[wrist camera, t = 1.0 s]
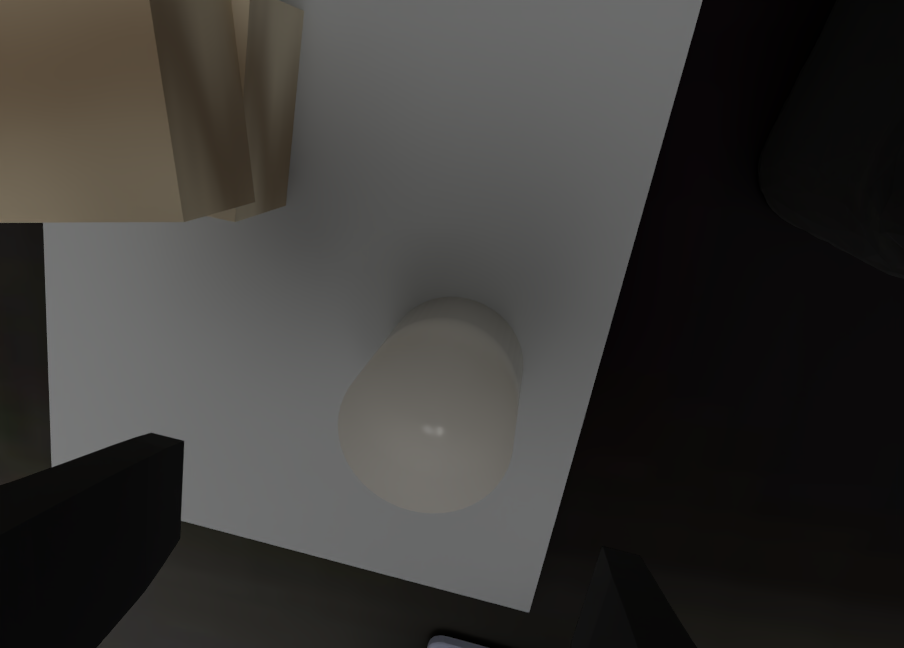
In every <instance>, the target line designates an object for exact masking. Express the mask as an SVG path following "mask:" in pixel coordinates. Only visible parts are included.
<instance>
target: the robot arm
mask: <svg viewBox="0 0 904 648" xmlns="http://www.w3.org/2000/svg"><path fill="white" fill-rule="evenodd" d="M183 461H184V441H183V440H179V439H175V438H171V437H167V436H163V435H159V434H155V433H148V434H145V435H141V436H138V437H135V438H132V439H129V440H126V441H123V442H120V443H117V444H114V445H112V446H109V447H106V448H103V449H101V450H98V451H95V452H92V453H90V454H87V455H84V456H82V457H79V458H76V459H73V460H71V461H68V462H65V463H62V464H60V465H57V466H54V467H51V468H49V469H46V470H43V471H40V472H38V473H35V474H32V475H29V476H27V477H24V478H21V479H18V480H15V481H12V482H9V483H6V484H3V485H0V648H96V647H97V646H98V645H99V644H100V643H101V642H102V641H103V639H104V638H105V637H106V636H107V635H108V634H109V633H110V631H111V630H112V629H113V628H114V627H115V626H116V624H117V623H118V622H119V621H120V620H121V619H122V617H123V616H124V615H125V614H126V613H127V612H128V610H129V609H130V608H131V607H132V606H133V605H134V603H135V602H136V601H137V600H138V599H139V597H140V596H141V595H142V594H143V593H144V592H145V590H146V589H147V587H148V586H149V585H150V583H151V582H152V580H153V579H154V577H155V576H156V574H157V573H158V572H159V570H160V569H161V567H162V566H163V564H164V563H165V561H166V560H167V558H168V556H169V555H170V553H171V552H172V550H173V549H174V547H175V546H176V544H177V543H178V541H179V539H180V530H181V507H182V484H183ZM427 648H488V647H485V646H481V645H477V644H473V643H470V642H466V641H462V640H459V639H455V638H451V637H448V636H443V635H438V636H434V637H432V638H431V639H430V641H429V643H428V646H427ZM571 648H697V647H696V646H695V644H694V643H693V641H692V639H691V638H690V636H689V635H688V633H687V632H686V630H685V628H684V627H683V625H682V624H681V622H680V620H679V619H678V617H677V616H676V614H675V612H674V611H673V609H672V607H671V606H670V604H669V603H668V601H667V599H666V598H665V596H664V594H663V593H662V591H661V589H660V588H659V586H658V584H657V583H656V581H655V579H654V578H653V576H652V575H651V573H650V571H649V570H648V568H647V566H646V565H645V563H644V561H643V560H642V558H641V557H640V555H636V554H632V553H628V552H624V551H620V550H616V549H612V548H608V547H604V546H602V548H601V551H600V554H599V557H598V560H597V563H596V566H595V570H594V573H593V576H592V579H591V582H590V585H589V588H588V592H587V595H586V598H585V601H584V604H583V607H582V610H581V613H580V617H579V620H578V623H577V626H576V629H575V632H574V635H573V639H572V642H571Z"/></svg>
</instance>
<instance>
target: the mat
mask: <svg viewBox="0 0 904 648" xmlns="http://www.w3.org/2000/svg"><path fill="white" fill-rule="evenodd" d="M280 1H282V2H284V3H287V4H289V5H291V6H294V7H296V8H299V9H301V10H303V11H304V17H303V28H302V39H301V49H300V60H299V71H298V81H297V92H296V103H295V113H294V124H293V135H292V145H291V156H290V167H289V178H288V188H287V199H286V206H283V207H280V208H277V209H274V210H271V211H268V212H265V213H262V214H259V215H256V216H252V217H249V218H246V219H243V220H240V221H237V222H231V221H227V220H222V219H218V218H213V217H208V216H204V217H200V218H197V219H193V220H190V221H186V222H67V223H43V230H44V259H45V287H46V316H47V345H48V373H49V402H50V431H51V459H52V467H54V466H57V465H60V464H62V463H65V462H68V461H71V460H73V459H76V458H79V457H82V456H84V455H87V454H90V453H92V452H95V451H98V450H101V449H103V448H106V447H109V446H112V445H114V444H117V443H120V442H123V441H126V440H129V439H132V438H135V437H138V436H141V435H145V434H148V433H155V434H159V435H163V436H167V437H171V438H175V439H179V440H183V441H184V461H183V484H182V507H181V521H185V522H188V523H192V524H196V525H200V526H204V527H207V528H211V529H215V530H219V531H222V532H226V533H230V534H234V535H238V536H241V537H245V538H249V539H253V540H256V541H260V542H264V543H268V544H272V545H275V546H279V547H283V548H287V549H290V550H294V551H298V552H302V553H306V554H309V555H313V556H317V557H321V558H324V559H328V560H332V561H336V562H340V563H343V564H347V565H351V566H355V567H358V568H362V569H366V570H370V571H374V572H377V573H381V574H385V575H389V576H393V577H396V578H400V579H404V580H408V581H411V582H415V583H419V584H423V585H427V586H430V587H434V588H438V589H442V590H445V591H449V592H453V593H457V594H461V595H464V596H468V597H472V598H476V599H479V600H483V601H487V602H491V603H495V604H498V605H502V606H506V607H510V608H513V609H517V610H521V611H525V612H529V611H530V608H531V604H532V601H533V597H534V594H535V590H536V587H537V583H538V579H539V576H540V572H541V569H542V565H543V562H544V558H545V555H546V551H547V548H548V544H549V541H550V537H551V534H552V530H553V527H554V523H555V519H556V516H557V512H558V509H559V505H560V502H561V498H562V495H563V491H564V488H565V484H566V481H567V477H568V474H569V470H570V466H571V463H572V459H573V456H574V452H575V449H576V445H577V442H578V438H579V435H580V431H581V428H582V424H583V421H584V417H585V414H586V410H587V406H588V403H589V399H590V396H591V392H592V389H593V385H594V382H595V378H596V375H597V371H598V368H599V364H600V361H601V357H602V353H603V350H604V346H605V343H606V339H607V336H608V332H609V329H610V325H611V322H612V318H613V315H614V311H615V308H616V304H617V301H618V297H619V293H620V290H621V286H622V283H623V279H624V276H625V272H626V269H627V265H628V262H629V258H630V255H631V251H632V248H633V244H634V240H635V237H636V233H637V230H638V226H639V223H640V219H641V216H642V212H643V209H644V205H645V202H646V198H647V195H648V191H649V188H650V184H651V180H652V177H653V173H654V170H655V166H656V163H657V159H658V156H659V152H660V149H661V145H662V142H663V138H664V135H665V131H666V127H667V124H668V120H669V117H670V113H671V110H672V106H673V103H674V99H675V96H676V92H677V89H678V85H679V82H680V78H681V75H682V71H683V67H684V64H685V60H686V57H687V53H688V50H689V46H690V43H691V39H692V36H693V32H694V29H695V25H696V22H697V18H698V14H699V11H700V7H701V4H702V0H280ZM442 297H461V298H467V299H471V300H474V301H477V302H479V303H482V304H484V305H486V306H488V307H489V308H491V309H493V310H494V311H495V312H497V313H498V314H499V315H500V316H501V317H502V318H504V319H505V320H506V321H507V323H508V324H509V325H510V327H511V328H512V329H513V331H514V333H515V334H516V336H517V338H518V341H519V343H520V346H521V350H522V354H523V376H522V384H521V392H520V399H519V407H518V414H517V422H516V429H515V437H514V445H513V451H512V457H511V460H510V464H509V467H508V469H507V471H506V473H505V475H504V477H503V478H502V480H501V481H500V483H499V484H498V485H497V486H496V487H495V488H494V490H493V491H492V492H491V493H489V494H488V495H487V496H486V497H484V498H483V499H482V500H480V501H478V502H477V503H475V504H473V505H471V506H468V507H466V508H464V509H460V510H457V511H453V512H446V513H420V512H415V511H410V510H407V509H404V508H401V507H398V506H396V505H393V504H391V503H389V502H387V501H385V500H384V499H382V498H380V497H379V496H377V495H376V494H375V493H373V492H372V491H370V490H369V489H368V488H367V487H366V486H365V485H364V484H363V483H362V482H361V481H360V480H359V479H358V477H357V476H356V475H355V474H354V472H353V471H352V469H351V468H350V466H349V464H348V462H347V460H346V458H345V457H344V454H343V451H342V448H341V445H340V440H339V435H338V415H339V411H340V406H341V403H342V400H343V398H344V395H345V394H346V392H347V390H348V388H349V386H350V385H351V384H352V383H353V381H354V380H355V379H356V377H357V376H358V375H359V373H360V372H361V371H362V370H363V368H364V367H365V366H366V364H367V363H368V362H369V360H370V359H371V358H372V357H373V355H374V354H375V353H376V351H377V350H378V349H379V347H380V346H381V345H382V344H383V342H384V341H385V340H386V338H387V337H388V336H389V334H390V333H391V332H392V331H393V329H394V328H395V327H396V325H397V324H398V323H399V321H400V320H401V319H402V318H403V317H404V316H405V315H406V314H407V313H408V312H409V311H410V310H412V309H413V308H414V307H416V306H418V305H420V304H422V303H424V302H426V301H429V300H432V299H436V298H442Z"/></svg>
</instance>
